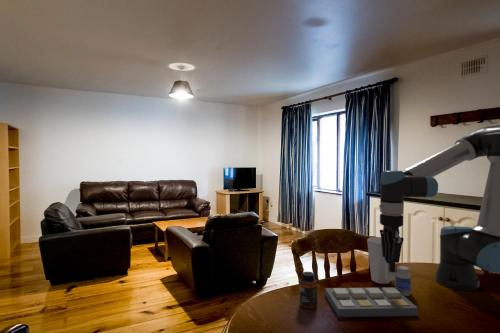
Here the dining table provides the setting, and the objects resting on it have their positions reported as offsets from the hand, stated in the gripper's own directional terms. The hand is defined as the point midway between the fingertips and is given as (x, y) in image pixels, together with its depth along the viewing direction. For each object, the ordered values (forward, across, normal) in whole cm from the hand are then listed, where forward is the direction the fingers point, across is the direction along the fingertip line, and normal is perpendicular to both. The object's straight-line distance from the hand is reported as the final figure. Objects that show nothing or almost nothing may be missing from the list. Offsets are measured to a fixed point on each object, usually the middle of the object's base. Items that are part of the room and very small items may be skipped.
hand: (390, 279), depth 109 cm
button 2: (+6, 0, -6) cm, 8 cm away
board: (+8, +2, -8) cm, 12 cm away
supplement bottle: (+9, +2, -30) cm, 31 cm away
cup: (+8, -19, +6) cm, 21 cm away
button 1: (+6, 0, 0) cm, 6 cm away
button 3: (+6, 0, -12) cm, 13 cm away
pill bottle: (+8, -7, +8) cm, 14 cm away
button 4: (+6, 0, -18) cm, 19 cm away
